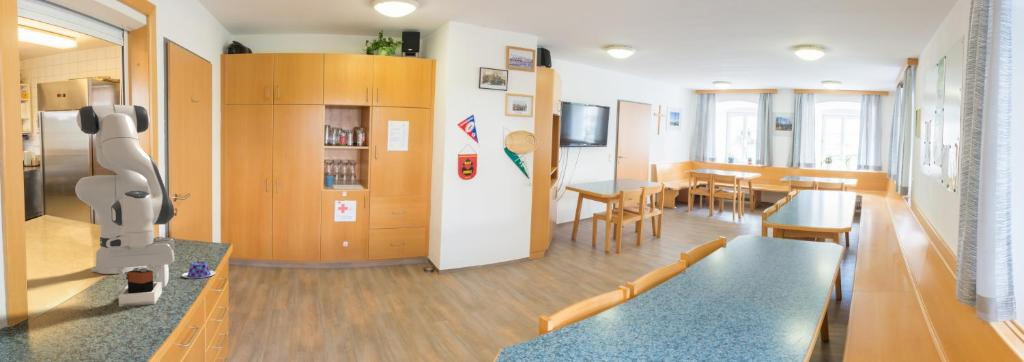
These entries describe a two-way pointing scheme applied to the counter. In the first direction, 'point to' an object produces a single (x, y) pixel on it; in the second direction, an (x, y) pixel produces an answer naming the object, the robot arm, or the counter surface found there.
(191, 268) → the pudding
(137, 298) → the trough
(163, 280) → the photo printer
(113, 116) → the robot arm
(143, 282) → the battery
